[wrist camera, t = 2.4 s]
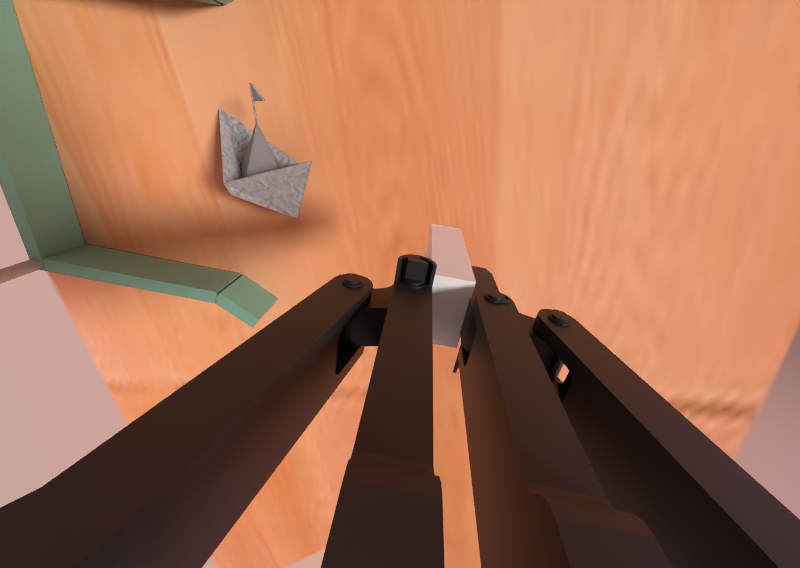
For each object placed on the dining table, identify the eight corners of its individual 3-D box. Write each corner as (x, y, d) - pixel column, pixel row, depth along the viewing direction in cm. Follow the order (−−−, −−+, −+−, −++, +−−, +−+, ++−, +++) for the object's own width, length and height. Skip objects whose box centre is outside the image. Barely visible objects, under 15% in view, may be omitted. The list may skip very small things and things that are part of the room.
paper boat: (195, 191, 28) (154, 63, 21) (264, 173, 32) (245, 61, 25) (279, 258, 23) (256, 116, 16) (348, 227, 26) (350, 103, 20)
